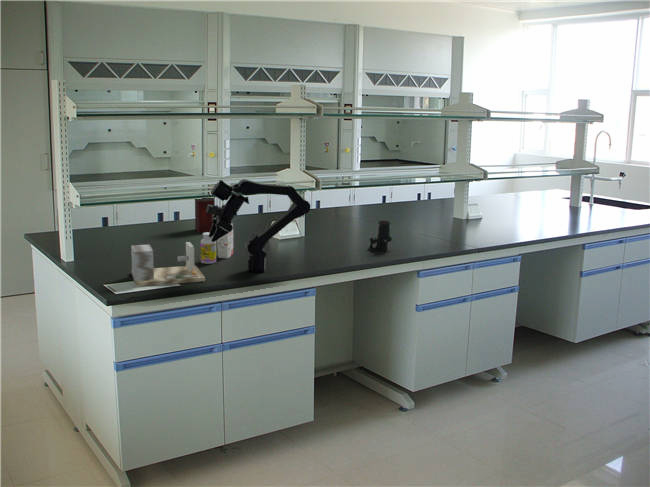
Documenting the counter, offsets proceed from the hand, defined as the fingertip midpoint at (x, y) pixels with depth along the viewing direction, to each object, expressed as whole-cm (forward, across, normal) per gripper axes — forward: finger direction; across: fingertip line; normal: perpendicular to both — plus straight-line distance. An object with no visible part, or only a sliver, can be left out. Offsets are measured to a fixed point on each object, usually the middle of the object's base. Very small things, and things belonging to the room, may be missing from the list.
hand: (210, 239), depth 262 cm
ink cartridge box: (+7, -27, +16) cm, 32 cm away
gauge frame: (+22, +4, -7) cm, 23 cm away
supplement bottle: (+12, -17, +9) cm, 22 cm away
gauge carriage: (+16, +5, -2) cm, 17 cm away
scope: (-35, -27, +79) cm, 90 cm away
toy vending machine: (+8, -84, +13) cm, 85 cm away
